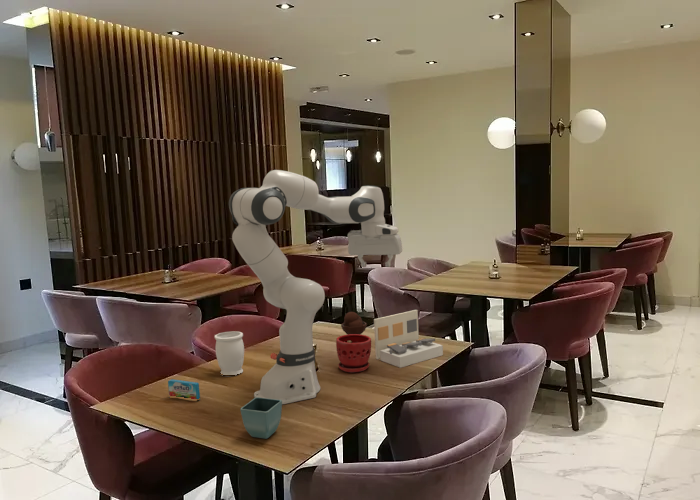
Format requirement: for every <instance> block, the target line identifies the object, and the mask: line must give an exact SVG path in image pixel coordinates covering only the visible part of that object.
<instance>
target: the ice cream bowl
mask: <svg viewBox="0 0 700 500" xmlns="http://www.w3.org/2000/svg"><path fill="white" fill-rule="evenodd" d="M343 320H344V321H343V323H341V324H340V326H341V327H340V328H341V329H342V331H343V332H344V333H345V335H349V334H360V335H363V333H364V332H365V331H366V329H367V326H368V325H367V324H368V323H367V322H365V321H363V319H362V317H361V316H360V315H358V314H357V312H354V311H349V312H346V314H345V315H344V318H343ZM350 343H352V341H350ZM355 343H357V342H355Z"/></svg>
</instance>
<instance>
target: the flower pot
mask: <svg viewBox="0 0 700 500" xmlns="http://www.w3.org/2000/svg"><path fill="white" fill-rule="evenodd" d="M282 408H283V404H282V400H276V399H267V398H259V397H256V398H252V399H251V400H250V401H249V402H247V403H246V404H244V405H243V406H242V407H240V414H241V419H242V424H243V425H244V428H245V431H246V432H247V433H248V435H250V436H251V437H252V438H257V439H258V438H259V439H264V440H265V439H266V440H267V439H268V438H270V437H271V436H272V435H273V434H274V433H275V432H276V431H277V429H278V428H279V425H280V423H281V420H282Z"/></svg>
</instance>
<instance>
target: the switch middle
mask: <svg viewBox="0 0 700 500" xmlns="http://www.w3.org/2000/svg"><path fill="white" fill-rule="evenodd" d="M404 345H407V346H408V347H415V346H418V345H421V343H418V342H407V343H403V344H402V346H404Z"/></svg>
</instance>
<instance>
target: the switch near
mask: <svg viewBox="0 0 700 500" xmlns="http://www.w3.org/2000/svg"><path fill="white" fill-rule="evenodd" d="M387 347H388V348H389V349H392V350H393V351H394V352H396V353H398V354H400V353H404V352H407V350H406V349H404V348H403V347H401V346H399V345H397V344H396V343H393V344H389V345H387Z"/></svg>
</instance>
